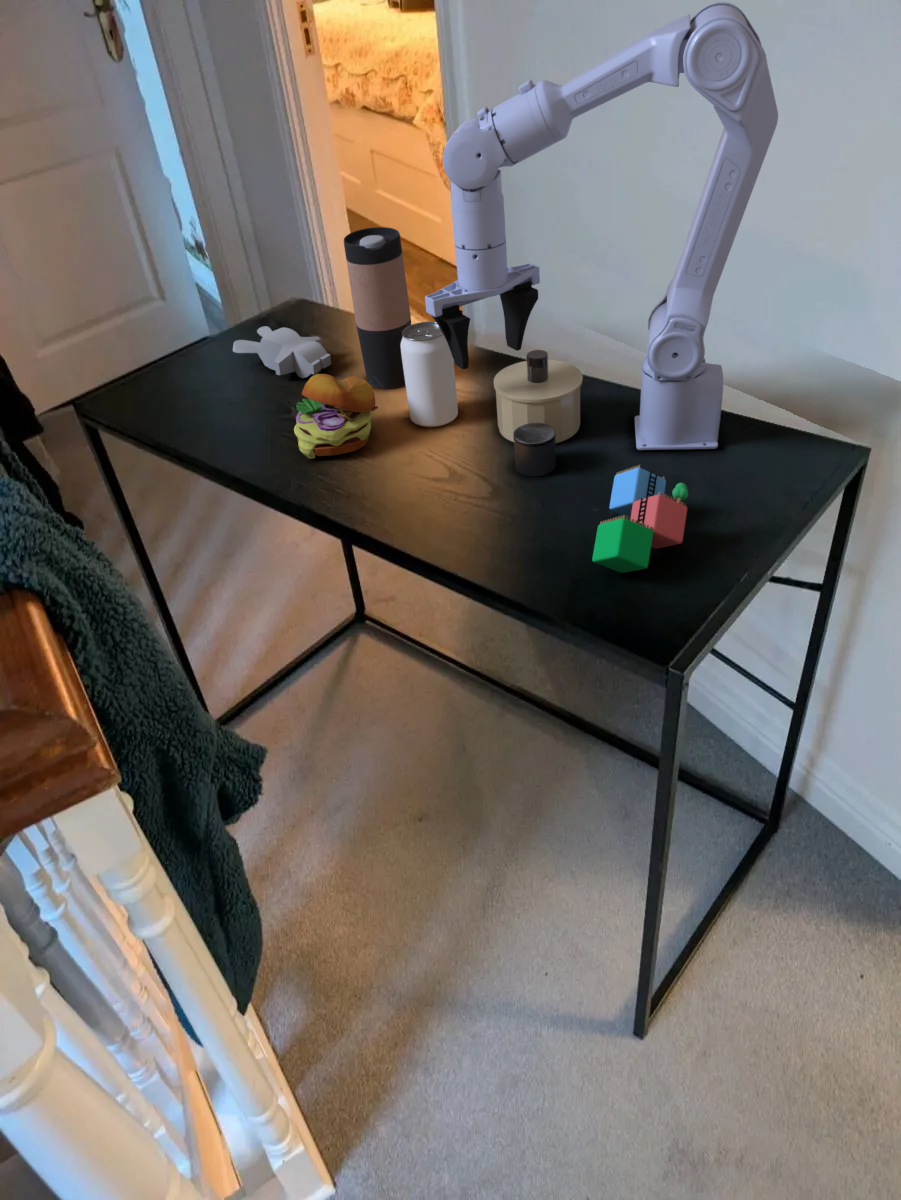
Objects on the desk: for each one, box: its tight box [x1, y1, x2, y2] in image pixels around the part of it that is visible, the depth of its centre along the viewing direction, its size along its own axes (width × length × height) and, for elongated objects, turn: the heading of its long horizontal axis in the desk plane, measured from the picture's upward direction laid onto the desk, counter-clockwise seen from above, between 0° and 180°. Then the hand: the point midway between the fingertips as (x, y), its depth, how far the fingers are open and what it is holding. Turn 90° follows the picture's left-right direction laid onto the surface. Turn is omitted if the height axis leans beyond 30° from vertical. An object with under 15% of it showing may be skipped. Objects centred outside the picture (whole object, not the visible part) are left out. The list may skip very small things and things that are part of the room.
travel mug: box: [343, 226, 412, 390], centre depth 123 cm, size 8×8×20 cm
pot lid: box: [493, 349, 584, 403], centre depth 110 cm, size 11×11×4 cm
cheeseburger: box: [293, 373, 379, 460], centre depth 114 cm, size 10×11×10 cm
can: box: [401, 321, 459, 429], centre depth 116 cm, size 6×6×12 cm
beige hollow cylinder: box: [495, 387, 581, 444], centre depth 113 cm, size 10×10×6 cm
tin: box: [513, 423, 556, 478], centre depth 106 cm, size 5×5×4 cm
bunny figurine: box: [232, 325, 332, 379], centre depth 135 cm, size 10×5×15 cm
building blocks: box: [591, 464, 689, 574], centre depth 91 cm, size 8×8×12 cm
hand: (488, 356), depth 108 cm, fingers open, 7 cm apart
